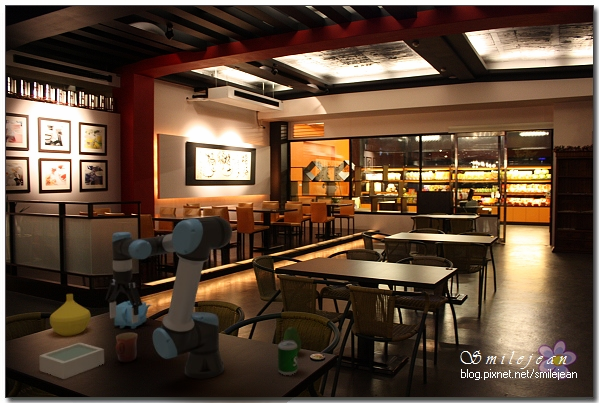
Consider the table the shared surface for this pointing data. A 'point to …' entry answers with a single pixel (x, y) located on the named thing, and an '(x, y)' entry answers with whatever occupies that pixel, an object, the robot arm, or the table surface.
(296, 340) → the fruit
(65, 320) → the vase
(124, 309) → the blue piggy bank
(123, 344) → the mug
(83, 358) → the rectangular box
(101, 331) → the table surface
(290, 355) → the soda can
